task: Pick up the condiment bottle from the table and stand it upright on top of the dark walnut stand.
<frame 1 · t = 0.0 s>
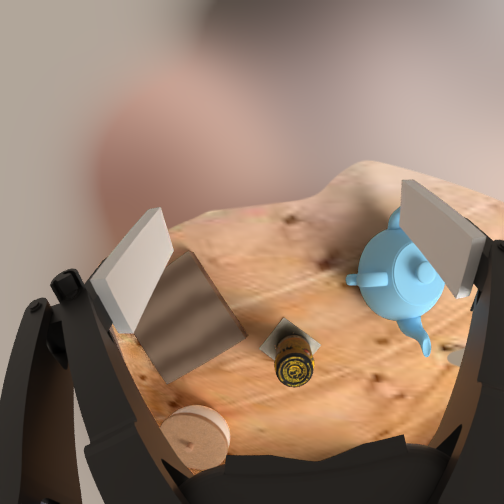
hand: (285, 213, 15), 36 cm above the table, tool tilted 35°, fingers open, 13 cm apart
teapot: (392, 272, 48), on the table
condiment: (290, 346, 49), on the table
walnut stand: (181, 319, 51), on the table
lidded bowl: (205, 422, 49), on the table
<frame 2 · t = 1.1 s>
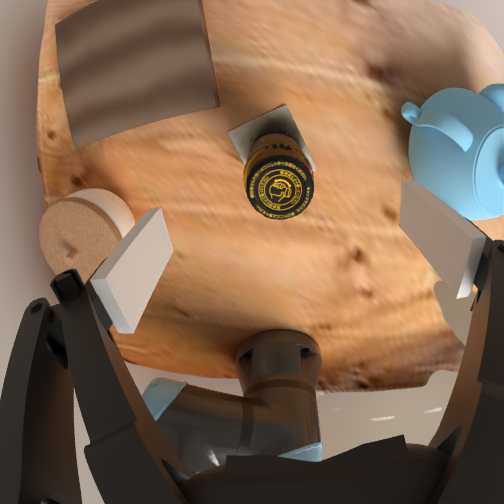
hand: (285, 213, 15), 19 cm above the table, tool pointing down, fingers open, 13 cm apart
teapot: (445, 143, 29), on the table
condiment: (272, 150, 31), on the table
walnut stand: (133, 56, 25), on the table
lidded bowl: (110, 218, 36), on the table
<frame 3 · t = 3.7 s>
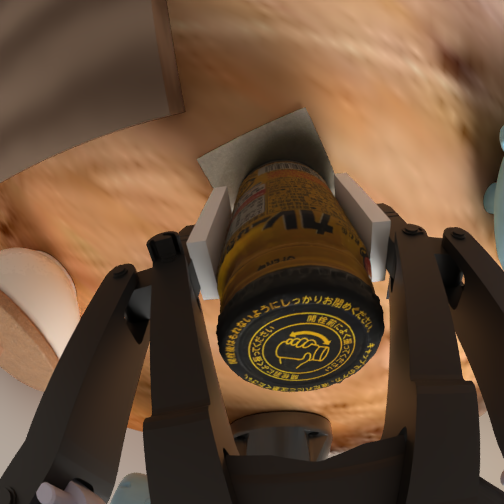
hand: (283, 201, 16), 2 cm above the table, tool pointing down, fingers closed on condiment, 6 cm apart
condiment: (279, 189, 18), on the table, touching gripper
walnut stand: (53, 41, 12), on the table
lidded bowl: (49, 280, 23), on the table
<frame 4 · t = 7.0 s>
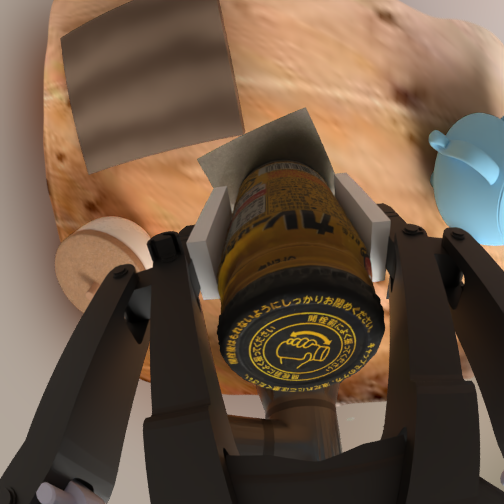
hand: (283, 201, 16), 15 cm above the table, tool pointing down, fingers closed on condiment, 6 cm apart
teapot: (465, 166, 28), on the table
condiment: (279, 189, 18), point 13 cm above the table, touching gripper
walnut stand: (148, 74, 25), on the table
lidded bowl: (128, 244, 36), on the table
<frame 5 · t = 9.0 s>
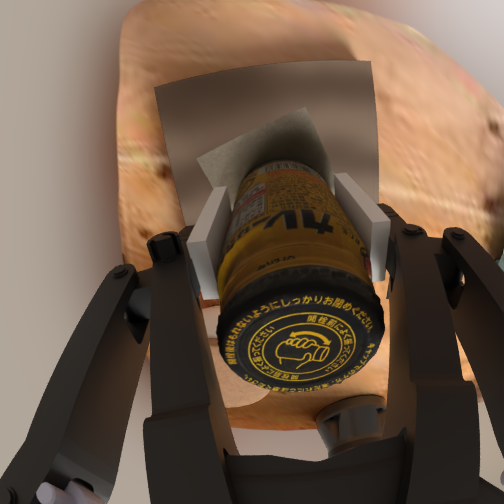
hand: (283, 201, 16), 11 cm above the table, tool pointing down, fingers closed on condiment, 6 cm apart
condiment: (279, 189, 18), point 9 cm above the table, touching gripper
walnut stand: (276, 161, 26), on the table
lidded bowl: (224, 324, 37), on the table
when the fingers open (6 cm above the table, at t = 10.5 s): condiment drops 1 cm, resting on walnut stand.
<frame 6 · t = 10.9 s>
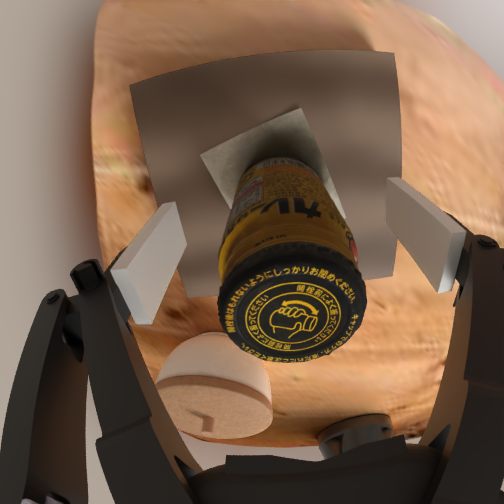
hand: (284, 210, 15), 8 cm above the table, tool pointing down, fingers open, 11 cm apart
condiment: (276, 184, 19), point 3 cm above the table, touching walnut stand
walnut stand: (278, 172, 22), on the table
lidded bowl: (219, 350, 33), on the table
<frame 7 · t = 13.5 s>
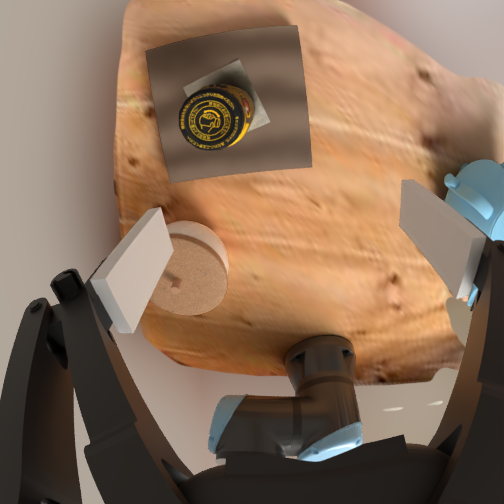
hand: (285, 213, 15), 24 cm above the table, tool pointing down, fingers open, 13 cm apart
teapot: (467, 196, 36), on the table
condiment: (226, 103, 30), point 3 cm above the table, touching walnut stand
walnut stand: (231, 101, 32), on the table
lidded bowl: (193, 244, 44), on the table
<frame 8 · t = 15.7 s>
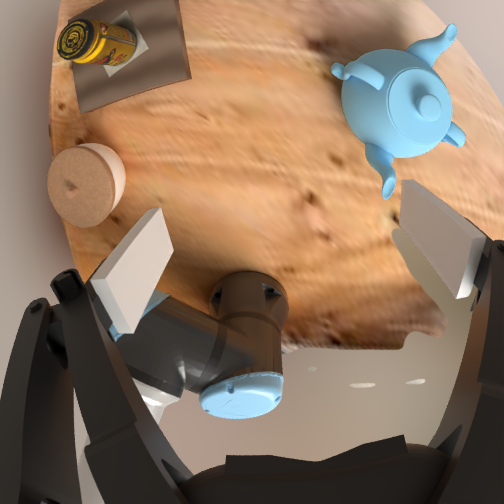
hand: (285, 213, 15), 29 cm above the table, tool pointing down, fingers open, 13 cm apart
teapot: (384, 99, 35), on the table
condiment: (118, 43, 29), point 3 cm above the table, touching walnut stand
walnut stand: (127, 44, 31), on the table
lidded bowl: (105, 171, 43), on the table
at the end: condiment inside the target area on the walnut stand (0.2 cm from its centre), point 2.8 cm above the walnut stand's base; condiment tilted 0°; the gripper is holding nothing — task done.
